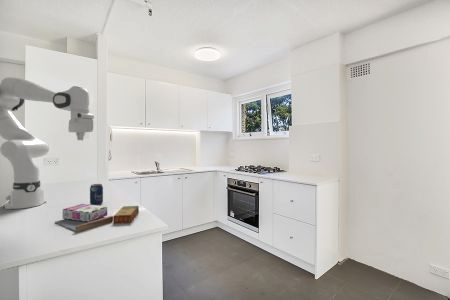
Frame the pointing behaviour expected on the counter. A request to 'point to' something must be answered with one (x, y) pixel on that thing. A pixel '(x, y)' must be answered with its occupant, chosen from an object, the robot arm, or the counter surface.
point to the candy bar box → (85, 212)
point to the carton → (126, 214)
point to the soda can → (96, 194)
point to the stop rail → (93, 224)
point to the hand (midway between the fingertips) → (80, 140)
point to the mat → (71, 223)
